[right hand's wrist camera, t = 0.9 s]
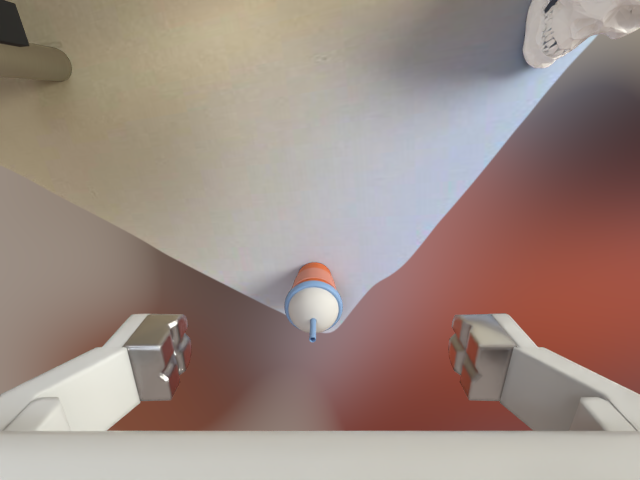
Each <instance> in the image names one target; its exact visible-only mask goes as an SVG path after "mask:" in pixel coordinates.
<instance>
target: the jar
mask: <svg viewBox="0 0 640 480" xmlns="http://www.w3.org/2000/svg"><path fill="white" fill-rule="evenodd" d="M70 74H71V63H70V61H69V59H68V57H67V56H66V55H65V54H64V53H63V52H62V51H61V50H59V49H56V48H52V47H47V46H42V45H37V44H32V43H29V46H27V47H17V46H11V45H6V44H0V77H10V78H23V79H36V80H48V81H65V80H66V79H68V78H69V76H70Z"/></svg>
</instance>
